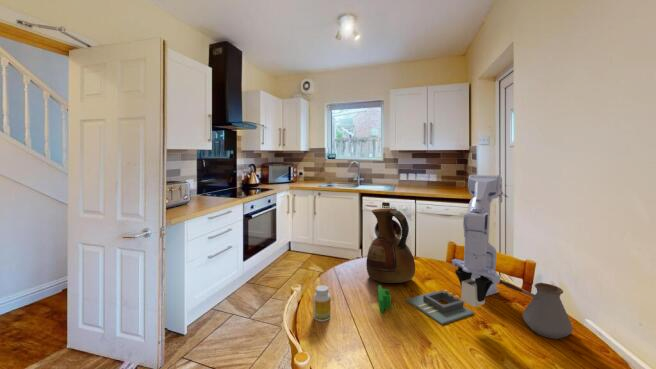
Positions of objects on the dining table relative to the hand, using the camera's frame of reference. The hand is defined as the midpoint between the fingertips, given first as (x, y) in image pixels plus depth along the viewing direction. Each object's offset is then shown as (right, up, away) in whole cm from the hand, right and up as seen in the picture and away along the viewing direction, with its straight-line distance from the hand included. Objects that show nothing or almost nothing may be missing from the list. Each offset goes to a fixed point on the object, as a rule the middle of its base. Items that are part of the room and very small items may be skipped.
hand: (473, 296), depth 83 cm
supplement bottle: (-46, -8, +4) cm, 47 cm away
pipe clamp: (-25, -8, +12) cm, 28 cm away
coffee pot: (+15, -9, -2) cm, 17 cm away
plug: (0, -2, 0) cm, 2 cm away
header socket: (-7, -8, +10) cm, 14 cm away
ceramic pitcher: (-18, -6, +32) cm, 37 cm away
